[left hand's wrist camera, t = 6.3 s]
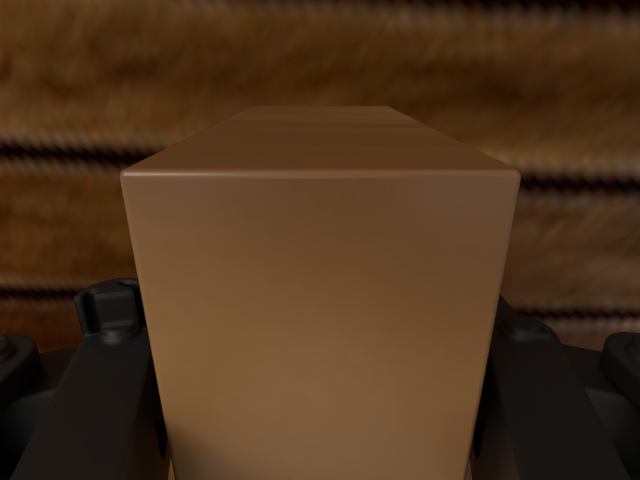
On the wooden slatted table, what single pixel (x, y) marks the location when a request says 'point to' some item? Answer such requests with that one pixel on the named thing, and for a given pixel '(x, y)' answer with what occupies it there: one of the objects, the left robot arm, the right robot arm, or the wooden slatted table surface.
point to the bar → (320, 292)
